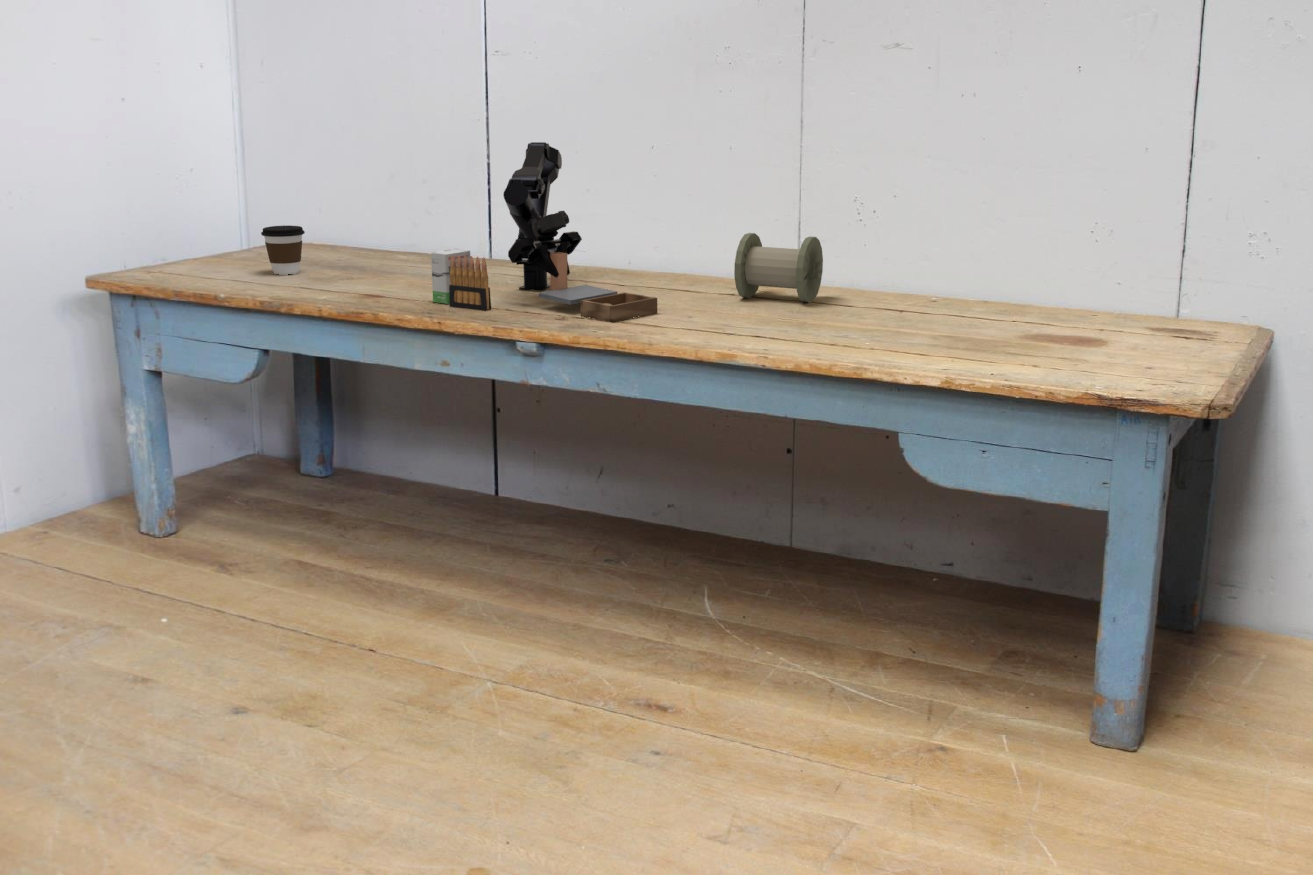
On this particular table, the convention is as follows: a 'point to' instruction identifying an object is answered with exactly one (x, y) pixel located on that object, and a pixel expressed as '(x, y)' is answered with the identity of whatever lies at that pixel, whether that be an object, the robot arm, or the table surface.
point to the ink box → (444, 272)
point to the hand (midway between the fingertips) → (563, 275)
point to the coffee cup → (284, 248)
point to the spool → (778, 267)
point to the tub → (618, 307)
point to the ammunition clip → (469, 285)
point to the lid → (571, 294)
